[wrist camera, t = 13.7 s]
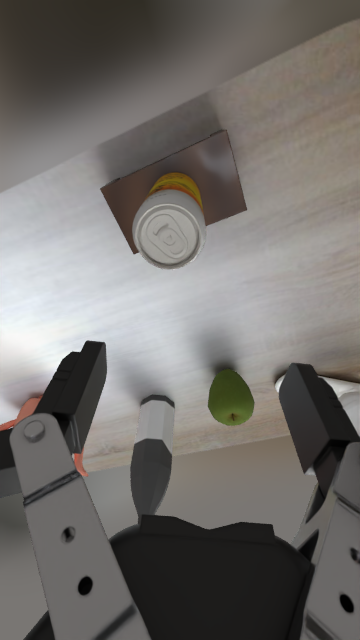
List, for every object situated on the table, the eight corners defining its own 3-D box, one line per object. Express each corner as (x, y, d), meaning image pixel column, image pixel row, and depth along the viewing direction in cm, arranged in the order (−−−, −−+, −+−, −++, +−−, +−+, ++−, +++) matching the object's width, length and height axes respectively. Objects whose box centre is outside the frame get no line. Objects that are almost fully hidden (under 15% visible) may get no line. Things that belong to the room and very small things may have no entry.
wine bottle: (135, 397, 63) (100, 570, 38) (169, 391, 62) (155, 567, 37) (147, 419, 67) (123, 587, 43) (179, 413, 66) (174, 584, 41)
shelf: (222, 129, 34) (226, 129, 30) (241, 201, 39) (247, 209, 35) (109, 182, 38) (99, 188, 34) (139, 242, 43) (133, 254, 39)
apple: (200, 363, 57) (202, 411, 47) (241, 353, 55) (252, 400, 45) (212, 391, 61) (217, 439, 52) (250, 382, 59) (262, 431, 50)
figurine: (261, 398, 62) (282, 476, 48) (287, 357, 55) (320, 434, 41) (365, 417, 65) (412, 496, 51) (401, 380, 58) (469, 459, 44)
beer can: (178, 159, 32) (171, 178, 20) (210, 202, 34) (222, 243, 22) (141, 195, 34) (113, 233, 22) (173, 233, 37) (165, 286, 24)
